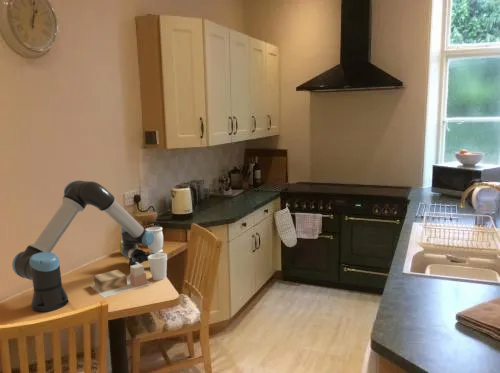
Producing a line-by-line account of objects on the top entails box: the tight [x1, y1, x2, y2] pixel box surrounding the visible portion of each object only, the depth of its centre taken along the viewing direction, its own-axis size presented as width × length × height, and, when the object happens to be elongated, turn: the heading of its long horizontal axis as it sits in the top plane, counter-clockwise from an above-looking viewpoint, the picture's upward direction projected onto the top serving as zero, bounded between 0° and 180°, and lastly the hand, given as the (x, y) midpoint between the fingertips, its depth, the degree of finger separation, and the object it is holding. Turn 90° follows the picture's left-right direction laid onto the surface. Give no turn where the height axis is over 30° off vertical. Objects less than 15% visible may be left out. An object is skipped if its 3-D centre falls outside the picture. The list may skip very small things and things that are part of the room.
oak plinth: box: [93, 269, 127, 292], centre depth 213 cm, size 12×12×5 cm
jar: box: [144, 226, 164, 254], centre depth 269 cm, size 11×10×15 cm
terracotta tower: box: [129, 263, 148, 287], centre depth 213 cm, size 6×6×9 cm
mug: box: [119, 239, 139, 255], centre depth 272 cm, size 13×11×12 cm
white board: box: [90, 274, 153, 299], centre depth 214 cm, size 24×20×2 cm
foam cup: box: [147, 252, 168, 281], centre depth 219 cm, size 10×9×13 cm
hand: (153, 264), depth 225 cm, fingers open, 13 cm apart
